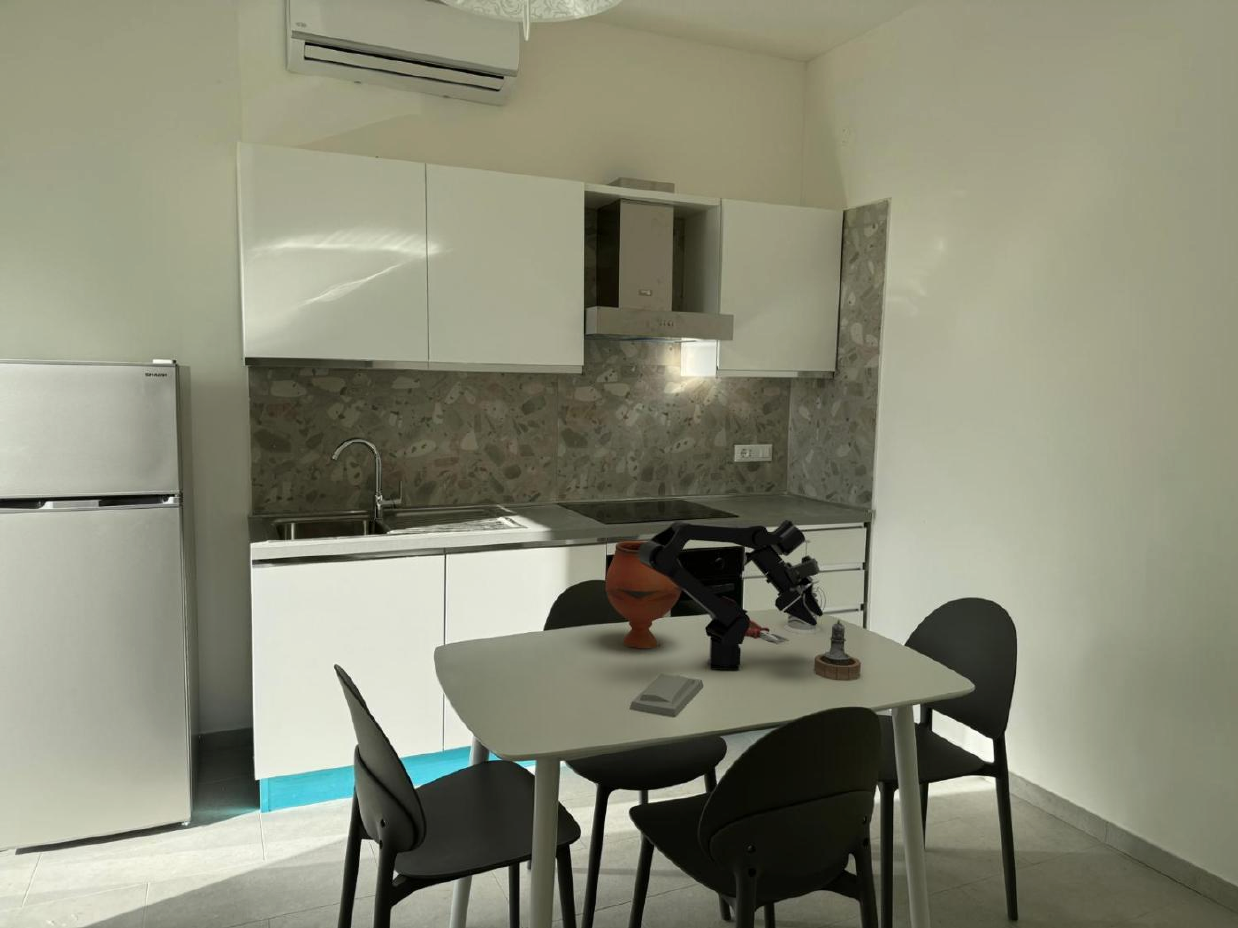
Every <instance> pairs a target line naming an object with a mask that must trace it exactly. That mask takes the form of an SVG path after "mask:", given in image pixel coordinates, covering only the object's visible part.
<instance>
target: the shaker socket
mask: <svg viewBox="0 0 1238 928" xmlns="http://www.w3.org/2000/svg"><path fill="white" fill-rule="evenodd" d="M849 656H850V659H849V661H848V663H847V665H846V666H840V665H832V664H828V663H826V660H825V656H824V653H821V654H818V655H816V656H815V657H814V667H813V672H815V674H816V675H818V676H820V677H823V678H826V679H830V680H835V681H836V680H837V681H851V680H855V679H856V680H857V679H858V678H859V677H860V676H861V666H862V665H861V664H862V662H861V661H860V660H859V659H858V658H856V657H854V656H851V655H849Z"/></svg>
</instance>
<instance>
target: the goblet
mask: <svg viewBox="0 0 1238 928" xmlns="http://www.w3.org/2000/svg"><path fill="white" fill-rule="evenodd" d="M646 541H647V540H645V541H644V540H630V541H629V540H625V541H619V542H617V543H616V544H615V551H614V555H613V557H612V560H611V563H610V565H609V567H608V568H607V569H608V570H607V571H606V577H605V592H606V595H607V599H608V601H609V602H610V604H611V605H612V608H614V609H615V611H617V612H618V613H619V614H620V616H622V617H623V618H625V620H628V625H629V627H630V628H631V630H630V631H629V632H628V633H627V634H626V635H625V636H624V638H623V640H622V644H623V643H624V644H623V645H625V646H627V647H629V648H633V647H634V649H635V648H636V649H652V648H654V646H655V647H657V646H658V642H657V639H656V637H655V636H654V634H653V633H652V632H651V630H650V628H651V627H652V626H653V622H654V621H657V620H659V619H660V618H662V617H663V616H665V615H666V614H667V613H669V612H670V611H671V610H672V609H673V607H674V606H675V605H676V603H677V602H678V600H679V599H680V596H681V593H682V589H681V588H679V587H678V586H677V585H676V584H675V583H673V582H672V581H671V580H670V579H669V578H667V577H666V576H664V575H662V574H660V573H658V572H657V571H655V570H653V569H651V568H649V567H647V566H645V565H643V564H642V563H641V562H640V561H639V559H638V550H639V548H640V546H641V545H642V544H643V543H644V542H646ZM656 645H657V646H656Z"/></svg>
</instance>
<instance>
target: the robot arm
mask: <svg viewBox="0 0 1238 928" xmlns="http://www.w3.org/2000/svg"><path fill="white" fill-rule="evenodd" d="M805 538H806V537H805V534H804V533H803V532H802V531H801V530H800V529H799V528H798V527H797V526H796V525H794V523H793V521H792V520H787V519H785V520H784V521H783V522H781V523H780V524H779V526H778V527H776V528H775V529H774V530H773V531H771V532H770V531H769V530H768V529H767V527H766V526H764V525H761V524H757V523H754V522H751V521H741V522H735V523H732V524H715V523H714V524H713V523H712V524H711V523H701V522H687V521H683V520H676V521H674V522H673V523H672V524H671V525H669V526H668V527H667V528H666V529H664V530H662V531H660V532H659V533H657V534H655V535H654V536H653V537H651V539H649V540H645V541H646V542H644V543H643V544H642V545H641V546H640V548H639V550H638V559H639V561H640V562H641V563H642V564H643V565H645V566H647V567H649V568H651V569H653V570H655V571H657V572H658V573H660V574H662V575H664V576H666V577H667V578H669V579H670V580H671V581H672V582H673V583H675V584H676V585H677V586H678V587H679V588H681V591H683V592H684V593H685V594H687V595H688V596H689V597H690V598H691V599H692V600H694V601H695V602H696V603H697V604H698V605H700V606H701V607H702V608H703V609H705V610H706V612H707V613H708V616H709V617H710V619H711V620H710V622H709V623H708V624H707V625H706V626H705V627H704V629H705V633H706V636H707V637H709V638H710V640H709V658H708V659H707V663H708V665H709V668H710V669H711V670H722V671H729V670H730V671H739V669H740V667H739V666H741V649H742V648H741V646H740V645H742V644H743V642H744V640H745V637H746V636H745V635H746V632H747V631H748V629H749V626H750V620H751V618H750V616H749V615H748V613H749V612H748V610H746V609H744V608H742V606H741V605H740V604H739V603H738V602H737V601H735V600H734V599H730V598H729V597H726V596H724V595H723V596H722V598H719V597H718V596H717V595H716V594H715V593H714V592H712V591H711V590H710V589H709V588H708V587H706V586H705V585H704V584H703V583H702V582H701V581H700V580H698V579H697V578H696V577H695V576H693V575H692V574H691V573H690V572H689V571H688V570H687V569H685V568H684V567H683V565H682V563H680V560H679V558H678V556H679V555H680V554H681V553H682V551H683V550H684V548H685V546H686V544H687V543H688V542H689V541H700V542H713V543H716V542H717V543H729V544H730V543H731V544H735V545H738V546H741V547H744V548H748V549H752V551H751V552H749V551H746V552H744V553H743V564H742V565H743V566H747V565H748V564H750V563H751V562H752V563H753V564H754V565H755V566H756V568H758V570H759V571H760V572H761V573H762V575H764V577H765V578H766V579H765V582H766V583H767V585H768V584H771V585H772V586H773V587H774V588H775V590H776V591H777V598H776V599H775V601H774V606H775V607H776V608H777V610H779V612H783V613H785V614H787V615H788V614H790V615H792V616H794V617H796V618H798V619H800V620H802V621H804V622H806V623H808V624H810V625H812V626H815V625H816V624H817V625H818V620H817V621H816V620H815V616H813V615H812V613H811V612H813V613H814V614H816V615H817V617H819V618H820V617H822V616H823V615H824V612H823V611H822V610H823V609H821V608H822V607H821V608H820V606H821V605H820V603H819V601H818V602H817V600H816V599H817V597H815V596H814V594H813V588H814V585H815V584H814V583H812V584H809V583H811V582H812V581H813V579H812V578H811V577H810V576H817V575H818V574H819V572H821V569H820V568H819V565H818V564H819V563H818V561H817V560H816V558H814V557H813V558H812V557H811V555H806V556H803V557H802V558H801V562H799V563H797V564H795V565H793V564H792V563H791V562H788V561H787V562H786V561H785V560H783V558H782V557H781V556H782V555H783V556H785V557H788V556H790V554H792V553H793V552H794V551H795V550H797V548H799V547H800V546H801V545H803V544H804V543H805ZM810 611H811V612H810Z"/></svg>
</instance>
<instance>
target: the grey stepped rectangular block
mask: <svg viewBox="0 0 1238 928" xmlns="http://www.w3.org/2000/svg"><path fill="white" fill-rule="evenodd" d="M704 687H705V686H704V682H703V679H699V678H691V677H686V676H682V675H677V674H676V675H669V674H662V673H660V675H658V676H657V677H656V678H655V679H654V680H653V681H652V682H651V683H650V684H649V685H648V686H647V687H646V688H645V689H644V690H643V691H641V693H639V694H638V695H637V696H636V697H635V698H634V699H633V700H632V701H631V702H630V706H629V710H633V711H639V712H644V713H650V714H655V715H661V716H666V717H667V716H668V717H672V718H677V716H679V714H680V713H681V712H682V711H683V710H684V709H685V708H686V707H687V706H688V705H689V704H690V702H691V701H693V699H695V697H696V696H697V695H698V694H699V693H700V692H701V690H702V689H704ZM687 704H688V705H687Z"/></svg>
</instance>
